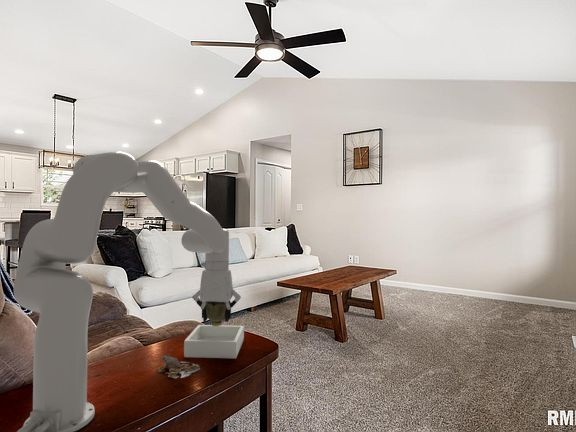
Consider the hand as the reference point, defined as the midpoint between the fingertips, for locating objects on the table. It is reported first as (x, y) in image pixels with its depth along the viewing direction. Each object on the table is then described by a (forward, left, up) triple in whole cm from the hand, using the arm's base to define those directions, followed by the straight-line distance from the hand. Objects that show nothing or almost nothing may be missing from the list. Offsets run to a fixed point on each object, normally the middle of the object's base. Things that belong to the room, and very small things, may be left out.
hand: (216, 320), depth 117 cm
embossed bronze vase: (0, 0, -2) cm, 2 cm away
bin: (0, 0, -9) cm, 9 cm away
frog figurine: (-17, +8, -10) cm, 21 cm away
